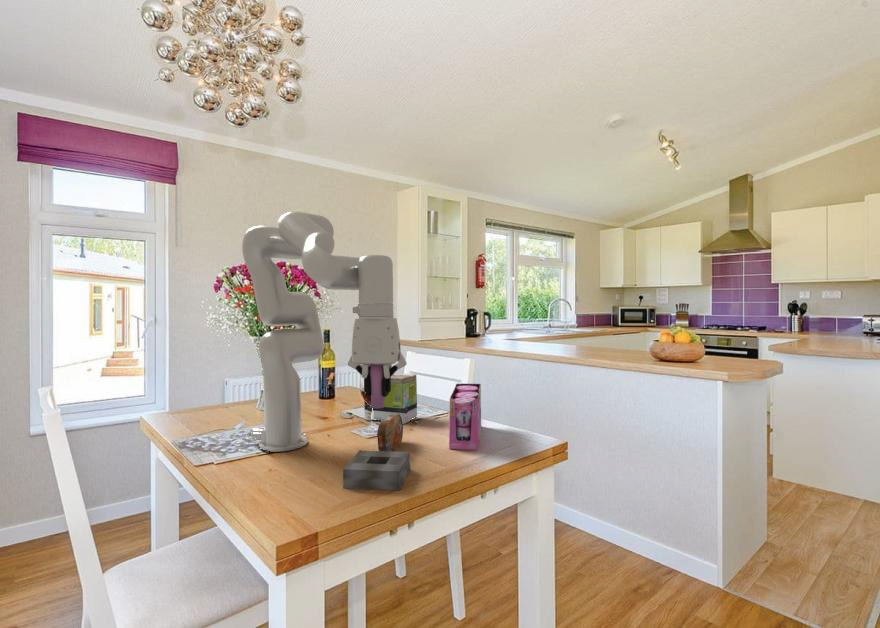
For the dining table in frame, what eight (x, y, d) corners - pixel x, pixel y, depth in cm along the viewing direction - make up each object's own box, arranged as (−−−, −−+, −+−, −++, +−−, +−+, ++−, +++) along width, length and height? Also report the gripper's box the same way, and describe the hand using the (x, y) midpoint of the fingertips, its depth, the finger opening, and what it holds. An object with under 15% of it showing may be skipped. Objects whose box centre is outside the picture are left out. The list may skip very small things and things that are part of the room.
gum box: (478, 452, 118) (478, 400, 118) (448, 451, 119) (447, 399, 119) (481, 426, 142) (481, 383, 141) (456, 426, 143) (455, 383, 142)
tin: (387, 459, 114) (386, 425, 114) (375, 458, 114) (374, 424, 114) (404, 440, 128) (403, 410, 128) (393, 440, 129) (393, 410, 129)
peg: (369, 408, 99) (368, 362, 99) (372, 405, 102) (372, 360, 102) (382, 408, 99) (381, 362, 99) (386, 405, 102) (385, 360, 102)
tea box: (418, 417, 154) (417, 373, 153) (403, 425, 144) (403, 378, 144) (379, 413, 160) (379, 371, 159) (363, 420, 151) (362, 375, 150)
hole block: (343, 487, 96) (342, 469, 96) (360, 467, 108) (360, 450, 108) (399, 490, 95) (398, 471, 95) (410, 469, 107) (409, 452, 106)
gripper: (334, 312, 98) (336, 398, 98) (409, 312, 95) (410, 399, 96) (346, 312, 105) (347, 391, 105) (416, 311, 103) (417, 392, 103)
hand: (377, 394), depth 101 cm, fingers closed on peg, 3 cm apart
